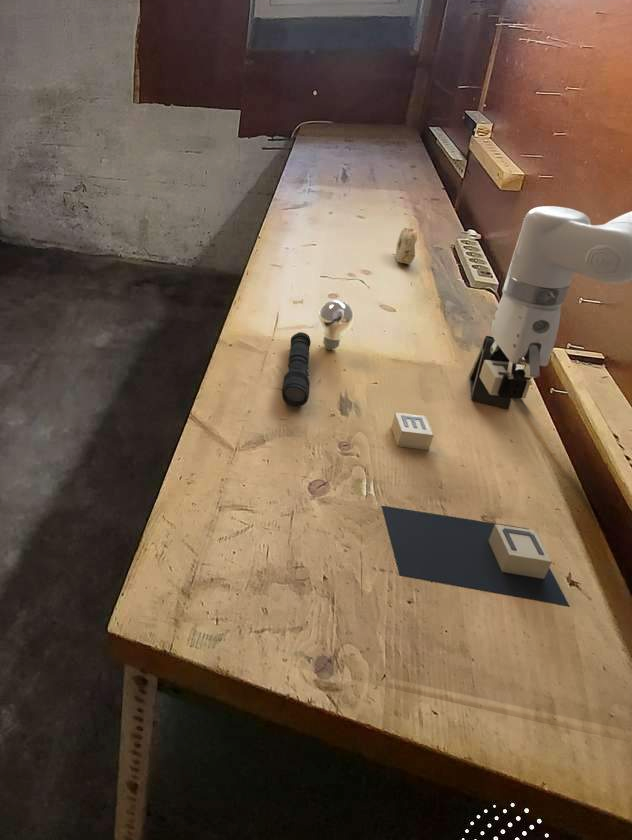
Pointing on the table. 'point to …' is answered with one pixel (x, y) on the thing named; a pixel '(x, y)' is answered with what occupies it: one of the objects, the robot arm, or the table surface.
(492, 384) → the letter h block
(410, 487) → the table surface
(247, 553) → the table surface
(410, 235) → the stone disc
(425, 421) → the letter e tile
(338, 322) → the light bulb
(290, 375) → the flashlight
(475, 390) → the phone stand
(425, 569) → the mat
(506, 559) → the tile
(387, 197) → the table surface
